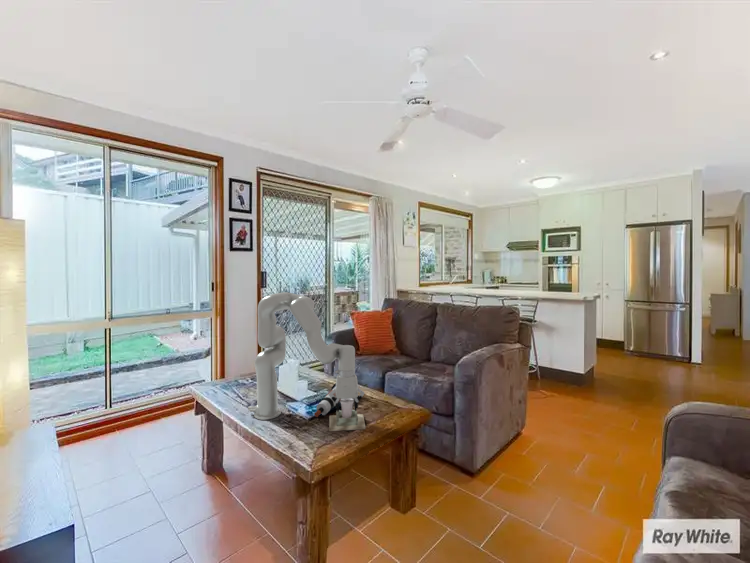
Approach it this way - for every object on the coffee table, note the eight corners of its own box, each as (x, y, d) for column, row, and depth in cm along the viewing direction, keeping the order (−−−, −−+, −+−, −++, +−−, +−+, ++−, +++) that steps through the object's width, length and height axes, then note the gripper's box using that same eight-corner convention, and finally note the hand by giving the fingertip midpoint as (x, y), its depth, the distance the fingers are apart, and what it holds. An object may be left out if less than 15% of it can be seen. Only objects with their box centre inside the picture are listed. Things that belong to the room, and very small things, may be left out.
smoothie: (350, 416, 169) (350, 387, 168) (355, 422, 163) (356, 392, 162) (337, 419, 166) (338, 389, 165) (342, 424, 160) (343, 394, 159)
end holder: (329, 430, 157) (329, 421, 157) (329, 418, 170) (329, 409, 170) (365, 428, 159) (365, 419, 159) (362, 416, 172) (362, 407, 172)
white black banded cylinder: (313, 427, 170) (303, 408, 170) (344, 395, 201) (336, 379, 201) (329, 421, 166) (319, 402, 166) (359, 389, 197) (350, 373, 197)
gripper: (327, 375, 158) (327, 414, 159) (366, 374, 160) (366, 412, 161) (327, 370, 166) (327, 407, 167) (364, 369, 168) (364, 406, 169)
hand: (346, 410), depth 164 cm, fingers open, 7 cm apart
